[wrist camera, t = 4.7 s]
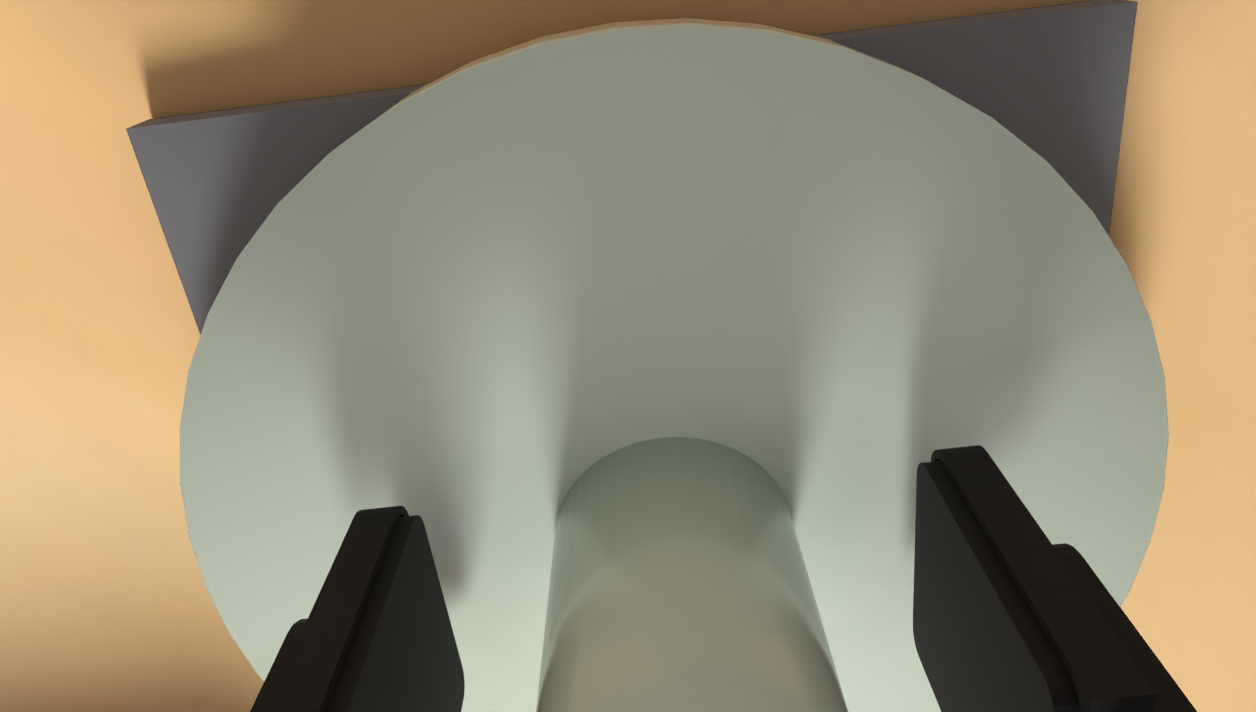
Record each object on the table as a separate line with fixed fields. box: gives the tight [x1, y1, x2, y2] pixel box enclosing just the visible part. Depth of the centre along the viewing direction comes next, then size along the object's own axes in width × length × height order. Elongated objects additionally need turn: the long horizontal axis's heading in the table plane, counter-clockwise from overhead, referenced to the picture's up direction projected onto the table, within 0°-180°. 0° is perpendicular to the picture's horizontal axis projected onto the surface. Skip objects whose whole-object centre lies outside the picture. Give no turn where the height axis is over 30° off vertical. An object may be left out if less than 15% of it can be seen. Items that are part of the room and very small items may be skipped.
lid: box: [180, 18, 1169, 712], centre depth 10 cm, size 13×13×7 cm
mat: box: [126, 0, 1137, 335], centre depth 13 cm, size 12×12×1 cm
